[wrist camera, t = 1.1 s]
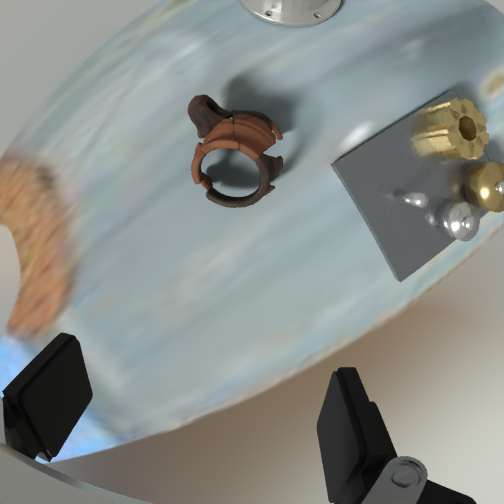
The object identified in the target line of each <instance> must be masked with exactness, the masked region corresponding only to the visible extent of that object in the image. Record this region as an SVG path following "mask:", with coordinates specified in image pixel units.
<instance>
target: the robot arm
mask: <svg viewBox="0 0 504 504" xmlns="http://www.w3.org/2000/svg"><path fill="white" fill-rule="evenodd" d="M240 2H241V3H242V4H243V6H244V7H245V8H246V9H247V10H248V11H249V12H250V13H251V14H253V15H254V16H256V17H257V18H259V19H261V20H264V21H266V22H268V23H272V24H275V25H279V26H285V27H307V26H312V25H316V24H319V23H321V22H323V21H326V20H327V19H329V18H330V17H331V16H332V15H333V14H334V13H335V12H336V11H337V9H338V7H339V5H340V3H341V0H240ZM316 17H317V18H316ZM2 392H3V394H4V397H3V398H1V397H0V504H153V503H148V502H144V501H141V500H137V499H133V498H129V497H126V496H123V495H119V494H116V493H113V492H110V491H107V490H104V489H101V488H98V487H96V486H93V485H90V484H87V483H85V482H82V481H79V480H77V479H75V478H72V477H70V476H67V475H65V474H63V473H60V472H58V471H56V470H54V469H51V468H49V467H47V466H45V465H43V464H41V463H39V462H37V461H35V458H36V456H37V455H38V457H39V458H41V459H43V460H46V461H48V462H50V461H51V459H52V458H53V457H56V456H57V455H58V453H59V451H60V450H61V448H62V446H63V445H64V443H65V441H66V440H67V438H68V436H69V435H70V433H71V431H72V430H73V428H74V427H75V425H76V423H77V422H78V420H79V419H80V417H81V415H82V414H83V412H84V411H85V409H86V408H87V406H88V404H89V403H90V401H91V399H92V395H93V394H92V389H91V385H90V382H89V378H88V375H87V371H86V367H85V363H84V359H83V355H82V351H81V346H80V343H79V341H78V340H77V339H76V337H75V336H74V335H70V334H66V333H60V334H59V335H58V336H57V337H55V338H54V339H53V340H52V341H51V342H50V343H49V344H48V345H47V346H46V347H45V348H44V349H43V350H42V351H41V352H40V353H39V354H38V355H37V356H36V357H35V358H34V359H33V360H32V361H31V362H30V363H29V364H28V365H27V366H26V367H25V368H24V369H23V370H22V371H21V372H20V373H19V374H18V375H17V376H16V377H15V378H14V380H13V381H12V382H11V383H10V384H9V385H8V386H7V387H6V388H5V389H4V390H3V391H2ZM317 434H318V440H319V445H320V451H321V457H322V463H323V468H324V475H325V481H326V487H327V493H328V499H329V502H330V503H334V504H476V502H475V501H474V500H473V499H472V498H471V497H469V496H467V495H464V494H462V493H459V492H456V491H454V490H451V489H449V488H446V487H444V486H441V485H439V484H437V483H434V482H432V481H430V480H427V476H428V475H427V469H426V468H425V466H424V465H423V464H422V463H421V462H420V461H419V460H417V459H415V458H412V457H409V456H401V457H398V456H397V454H396V451H395V449H394V446H393V444H392V441H391V438H390V436H389V434H388V431H387V429H386V426H385V424H384V421H383V419H382V416H381V414H380V412H379V409H378V407H377V405H376V404H375V402H370V401H369V399H368V396H367V394H366V391H365V389H364V386H363V384H362V382H361V379H360V377H359V374H358V372H357V370H356V368H354V367H340V368H339V369H338V370H337V371H334V372H333V373H332V376H331V379H330V383H329V386H328V390H327V393H326V396H325V400H324V403H323V406H322V409H321V412H320V415H319V419H318V422H317Z"/></svg>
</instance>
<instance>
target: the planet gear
mask: <svg viewBox="0 0 504 504" xmlns="http://www.w3.org/2000/svg"><path fill="white" fill-rule="evenodd" d="M432 109H433V112H432V113H431V115H428V116H427V120H426V127H428V128H429V134H430V136H431V137H429V138H428V139H429V141H430V143H431V145H432V146H433V148H434V149H438V151H440V152H442V155H441V156H442V157H444V158H447V159H449V160H469V159H478V158H479V157H481V156H482V155H483V154H484V153H483V151H482V150H483V149H484V148H485V145H488V138H489V134H488V133H486V126H485V123H486V120H485V118H484V116H483V114H482V112H481V111H480V112H478V110H477V108H475V107H474V103H473V102H472V101H470V100H468V99H466V98H463V99H460V100H458V99H457V98H454V99H451V100H447V101H444V102H441V103H438V104H437V105H435V106H433V107H432Z"/></svg>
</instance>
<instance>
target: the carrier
mask: <svg viewBox="0 0 504 504" xmlns="http://www.w3.org/2000/svg"><path fill="white" fill-rule="evenodd" d="M454 98H457V99H458V100H460V98H459V96H458V94H457V93H456V91H455V89H453V90H450V91H448V92H446V93H444V94H443V95H441V96H439V97H438V98H436V99H434V100H433V101H431V102H429V103H428V104H426V105H424V106H423V107H421V108H420V109H418V110H416V111H415V112H413V113H411V114H410V115H408V116H407V117H405V118H403V119H402V120H400V121H399V122H397V123H395V124H394V125H392V126H391V127H389V128H387V129H386V130H384V131H383V132H381V133H380V134H378V135H376V136H375V137H373V138H372V139H370V140H369V141H367V142H365V143H364V144H362V145H361V146H359V147H358V148H356V149H354V150H353V151H351V152H350V153H348V154H347V155H345V156H344V157H342V158H341V159H339V160H337V161H336V162H334V163H333V164H331V166H332V168H333V169H334V171H335V172H336V174H337V175H338V177H339V179H340V180H341V182H342V183H343V185H344V187H345V188H346V190H347V191H348V193H349V195H350V196H351V198H352V200H353V201H354V203H355V205H356V206H357V208H358V210H359V212H360V213H361V215H362V217H363V219H364V220H365V222H366V224H367V226H368V227H369V229H370V231H371V233H372V235H373V236H374V238H375V240H376V242H377V244H378V246H379V247H380V249H381V251H382V253H383V255H384V257H385V259H386V261H387V263H388V265H389V267H390V269H391V271H392V273H393V275H394V277H395V278H396V279H397V280H398V281H399V282H401V281H403V280H404V279H406V278H407V277H408V276H410V275H411V274H412V273H414V272H415V271H416V270H418V269H419V268H420V267H422V266H423V265H424V264H426V263H427V262H428V261H430V260H431V259H432V258H433V257H435V256H436V255H437V254H439V253H440V252H441V251H442V250H444V249H445V248H446V247H447V246H449V245H450V244H451V243H452V242H453V241H455V240H456V239H459V240H461V241H469V240H471V239H472V238H473V237H474V236H475V235H476V233H477V231H478V228H479V224H480V218H481V217H483V216H484V215H485V214H486V213H487V212H488V211H489V210H490V211H493V212H502V211H504V164H502V163H500V162H490V161H489V159H488V156H487V154H486V152H485V149H483V150H482V151H483V153H484V154H483V155H482V156H481V157H479V158H478V159H469V160H449V159H447V158H444V157H442V156H441V155H442V152H440V151H438V149H434V148H433V146H432V145H431V143H430V141H429V139H428V138H429V137H431V136H430V134H429V128H428V127H426V120H427V116H428V115H431V113H432V112H433V109H432V107H433V106H435V105H437V104H438V103H441V102H444V101H447V100H451V99H454Z"/></svg>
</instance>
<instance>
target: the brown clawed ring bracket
mask: <svg viewBox="0 0 504 504" xmlns="http://www.w3.org/2000/svg"><path fill="white" fill-rule="evenodd" d="M188 114H189V116H190V118H191V120H192V122H193V123H194V124H195V126H196V127H197V130H198V137H199V138H205V139H204V142H203V143H198V144H197V146H196V149H195V154H194V159H193V161H192V166H191V171H192V177H193V180H194V182H195V184H199V183H201V184H202V186H203V187H204V188H205V189H207V190H208V191H207V192H206V197H207V198H208V199H209V200H211V201H212V202H214V203H217V204H219V205H221V206H225V207H231V208H236V207H246V206H250V205H253V204H255V203H256V202H258V201H259V200H260V199H261V198H262V197H263V196H265V195H267V194H268V193H270V192H271V191H272V190H273V189H275V186H273V185H270V184H269V183H270V182H271V181H273V180H274V179H275V178H276V177H277V176H278V174H279V171H280V170H281V169H282V167H283V158H282V156H278V157H276V158H275V157H272V156H268V155H266V154H263V152H264V151H266V150H267V149H268V148H269V147H271V146H272V145H274V144H275V143H276V137H275V135H274V133H275V134H276V136H277V138H278V140H282V139H283V136H282V134H281V131H280V129H279V128H278V126H277V125H276V124H275V122H274V121H273V120H271V119H270V118H269V117H268V116H266V115H264V114H262V113H259V112H256V111H236V110H232V111H231V112H230V111H227V110H224V109H223V108H221V107H220V106H219V105H218V104H217V103H216V102H215V101H214V100H213V99H212V98H210V97H209V96H207V95H199V96H195V97H194V98H193V99H192V100H191V102H190V103H189V106H188ZM229 118H233V120H231V119H229ZM272 130H273V131H274V133H273V132H272ZM219 148H231V149H235V150H239V151H241V152H243V153H245V154H246V155H247V156H249V157H250V158H251V159H252V160H253V161H255V163H256V165H257V166H258V168H259V171H260V175H261V181H260V185H259V187H258V189H257V190H256V191H255V192H254V193H252V194H250V195H248V196H245V197H231V196H227V195H224V194H221V193H220V192H218V191H217V190H215V189H214V188H213V184H212V179H211V178H210V177H209V176H208V175H206V174H205V173H203V172H202V171H201V163H202V160H203V158H204V157H205V156H206V154H207V153H209V152H210V151H212V150H215V149H219Z"/></svg>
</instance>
